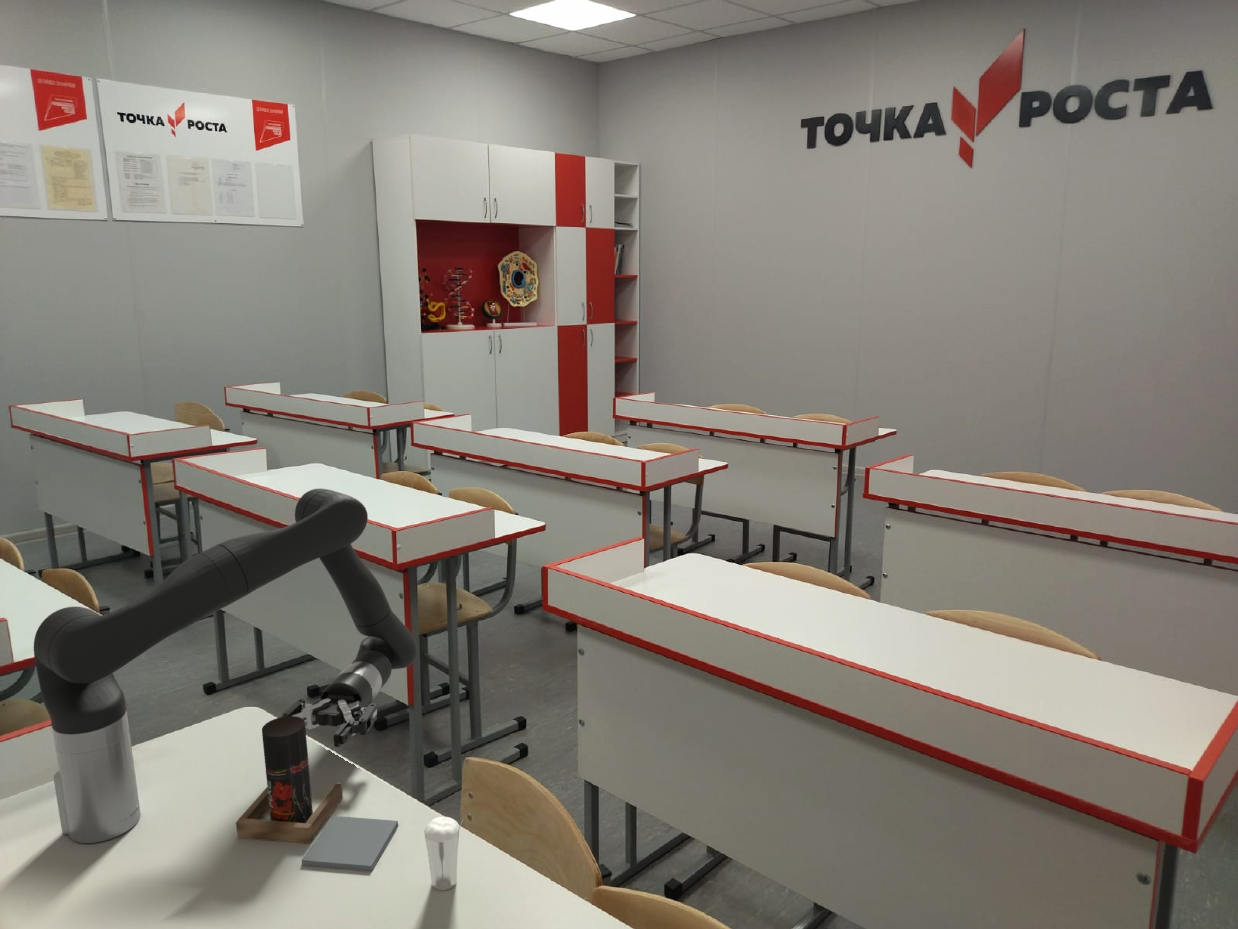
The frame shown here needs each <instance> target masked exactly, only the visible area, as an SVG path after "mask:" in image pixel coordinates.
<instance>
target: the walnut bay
mask: <svg viewBox="0 0 1238 929" xmlns="http://www.w3.org/2000/svg"><path fill="white" fill-rule="evenodd" d="M343 799H344V798H343V784H342V783H334V784H333V786H332V788H331V789H330V790H329V791H328V793H326V795H325V797H324V798H323V799H322V800H321V802H320V803H319V805H318V806H317V807H316V808H315V810H313V814H312V815H311V816H310V818H309V819H308V820H307V822H306V823H295V822H283V821H271V819H270V820H269V819H268V820H267V819H262V817H263V816H264V815H265V814H266V813H267V812H268V810H270V808H269V798H268V788H267V787H266V788H265V789H264V790H263V791H262V792H261V793H260V795H259V796H258V797H257V798H256V799H255V800H254V801H253V802H252V803H251V805H250V806H248V808H247V809H245V811H244V812H243V813H242V815H241V816H239V818H238V820H236V821H235V827H236V834H237V838H238V839H250V840H251V839H252V840H262V841H276V842H284V843H285V842H287V843H295V844H296V843H298V844H299V843H300V844H309V845H310V844H311V843H312V841H314V839H315V838H316V836H318V833H319V832H321V829H322V828H323V827H324V825H325V824H326V822H327V821H328V820H329V818H330V816H332V814H333V813H334V811H335V810H336V809H337V807H338V806H339V804H340V803H341V801H342V800H343Z"/></svg>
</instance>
